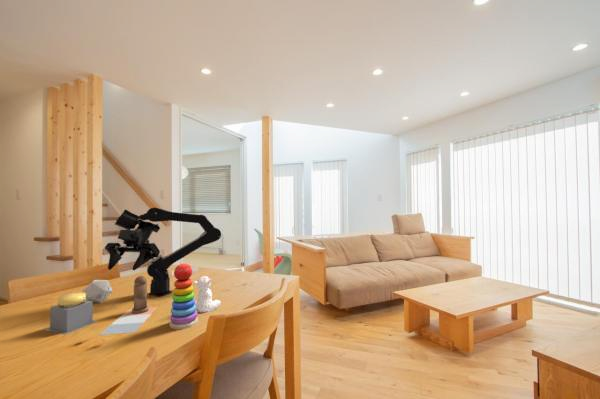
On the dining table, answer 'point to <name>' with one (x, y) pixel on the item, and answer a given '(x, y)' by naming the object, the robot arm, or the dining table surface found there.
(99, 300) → the die
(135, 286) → the brown round-topped post
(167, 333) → the dining table surface
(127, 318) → the game board
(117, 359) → the dining table surface
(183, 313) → the stacking toy
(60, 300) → the dome button
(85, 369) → the dining table surface
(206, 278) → the seated beast figurine
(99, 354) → the dining table surface
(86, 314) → the box
